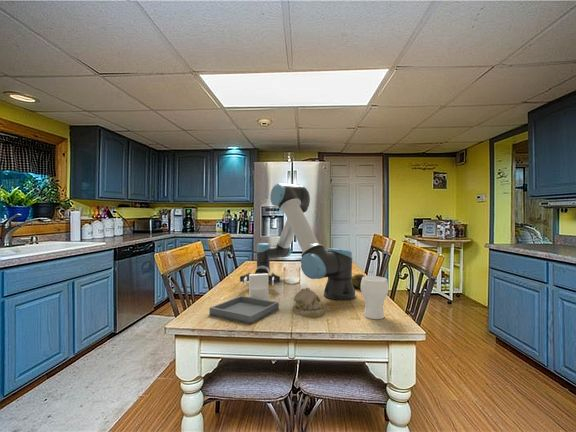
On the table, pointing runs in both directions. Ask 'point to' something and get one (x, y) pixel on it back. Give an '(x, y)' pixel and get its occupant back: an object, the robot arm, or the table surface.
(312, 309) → the ceramic model
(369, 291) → the cup
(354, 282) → the potato
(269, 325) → the table surface
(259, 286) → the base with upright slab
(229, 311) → the box
